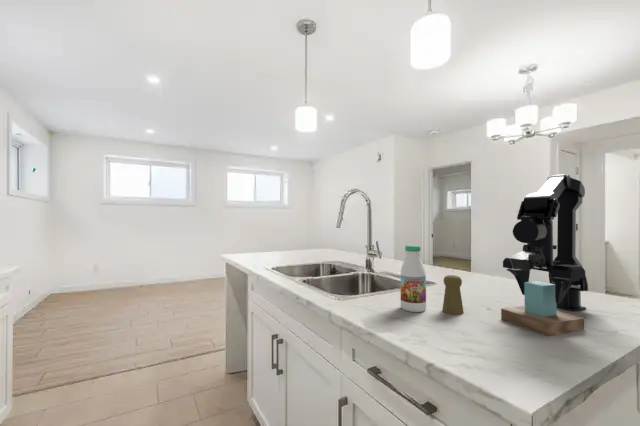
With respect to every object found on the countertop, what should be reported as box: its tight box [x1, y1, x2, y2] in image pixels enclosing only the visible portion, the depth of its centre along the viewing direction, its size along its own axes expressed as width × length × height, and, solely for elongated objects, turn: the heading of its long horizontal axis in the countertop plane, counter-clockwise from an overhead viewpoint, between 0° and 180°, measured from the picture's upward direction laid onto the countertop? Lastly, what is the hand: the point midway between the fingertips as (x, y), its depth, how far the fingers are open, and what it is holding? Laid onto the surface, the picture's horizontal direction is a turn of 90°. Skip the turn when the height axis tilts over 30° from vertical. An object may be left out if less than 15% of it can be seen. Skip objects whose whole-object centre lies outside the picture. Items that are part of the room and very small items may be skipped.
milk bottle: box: [400, 244, 427, 313], centre depth 97 cm, size 8×8×20 cm
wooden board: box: [500, 305, 586, 337], centre depth 83 cm, size 13×13×3 cm
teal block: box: [524, 280, 558, 317], centre depth 83 cm, size 5×5×8 cm
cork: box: [442, 274, 464, 316], centre depth 94 cm, size 6×6×11 cm
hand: (540, 299), depth 83 cm, fingers open, 9 cm apart
